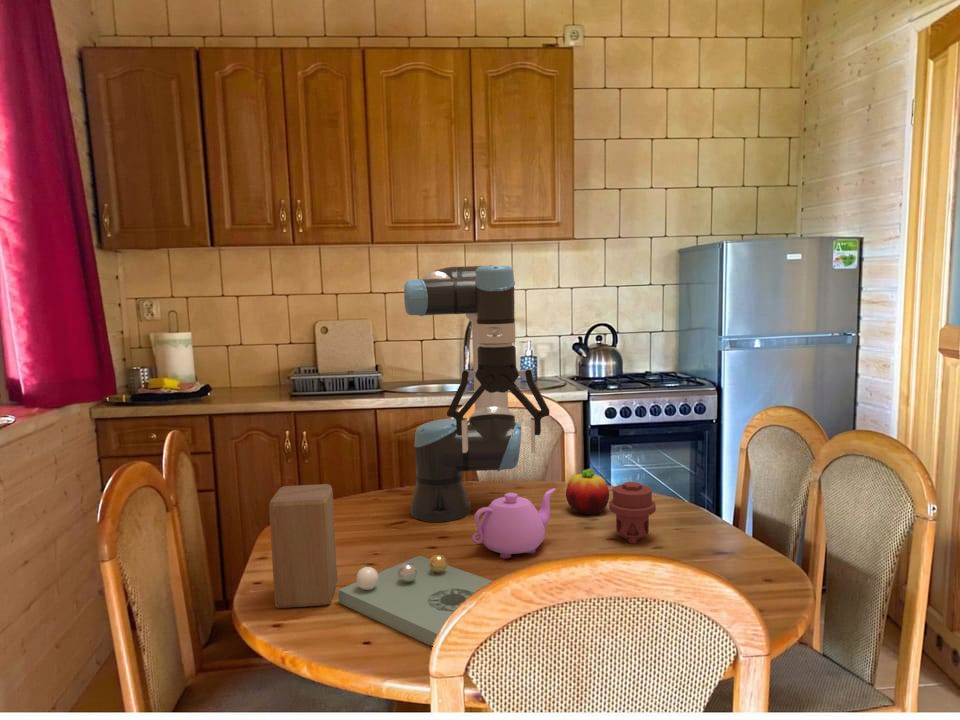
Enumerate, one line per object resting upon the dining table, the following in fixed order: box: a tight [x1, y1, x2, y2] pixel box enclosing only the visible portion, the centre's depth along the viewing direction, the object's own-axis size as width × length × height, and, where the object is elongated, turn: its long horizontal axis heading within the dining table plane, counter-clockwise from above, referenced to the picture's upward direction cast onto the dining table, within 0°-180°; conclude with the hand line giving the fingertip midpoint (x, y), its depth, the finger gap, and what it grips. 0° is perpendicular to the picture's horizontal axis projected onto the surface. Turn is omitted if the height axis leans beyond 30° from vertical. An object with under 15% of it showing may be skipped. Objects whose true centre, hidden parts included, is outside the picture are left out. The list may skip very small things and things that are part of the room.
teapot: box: [471, 487, 557, 559], centre depth 145 cm, size 20×14×12 cm
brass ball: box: [429, 553, 448, 573], centre depth 128 cm, size 4×4×4 cm
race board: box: [338, 555, 493, 647], centre depth 120 cm, size 26×20×2 cm
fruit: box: [565, 468, 610, 515], centre depth 168 cm, size 11×11×10 cm
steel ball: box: [398, 563, 417, 583], centre depth 124 cm, size 4×4×4 cm
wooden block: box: [268, 483, 338, 609], centre depth 124 cm, size 10×10×20 cm
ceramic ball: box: [355, 566, 379, 590], centre depth 121 cm, size 4×4×4 cm
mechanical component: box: [608, 481, 657, 545], centre depth 148 cm, size 12×10×10 cm
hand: (499, 451), depth 134 cm, fingers open, 13 cm apart
